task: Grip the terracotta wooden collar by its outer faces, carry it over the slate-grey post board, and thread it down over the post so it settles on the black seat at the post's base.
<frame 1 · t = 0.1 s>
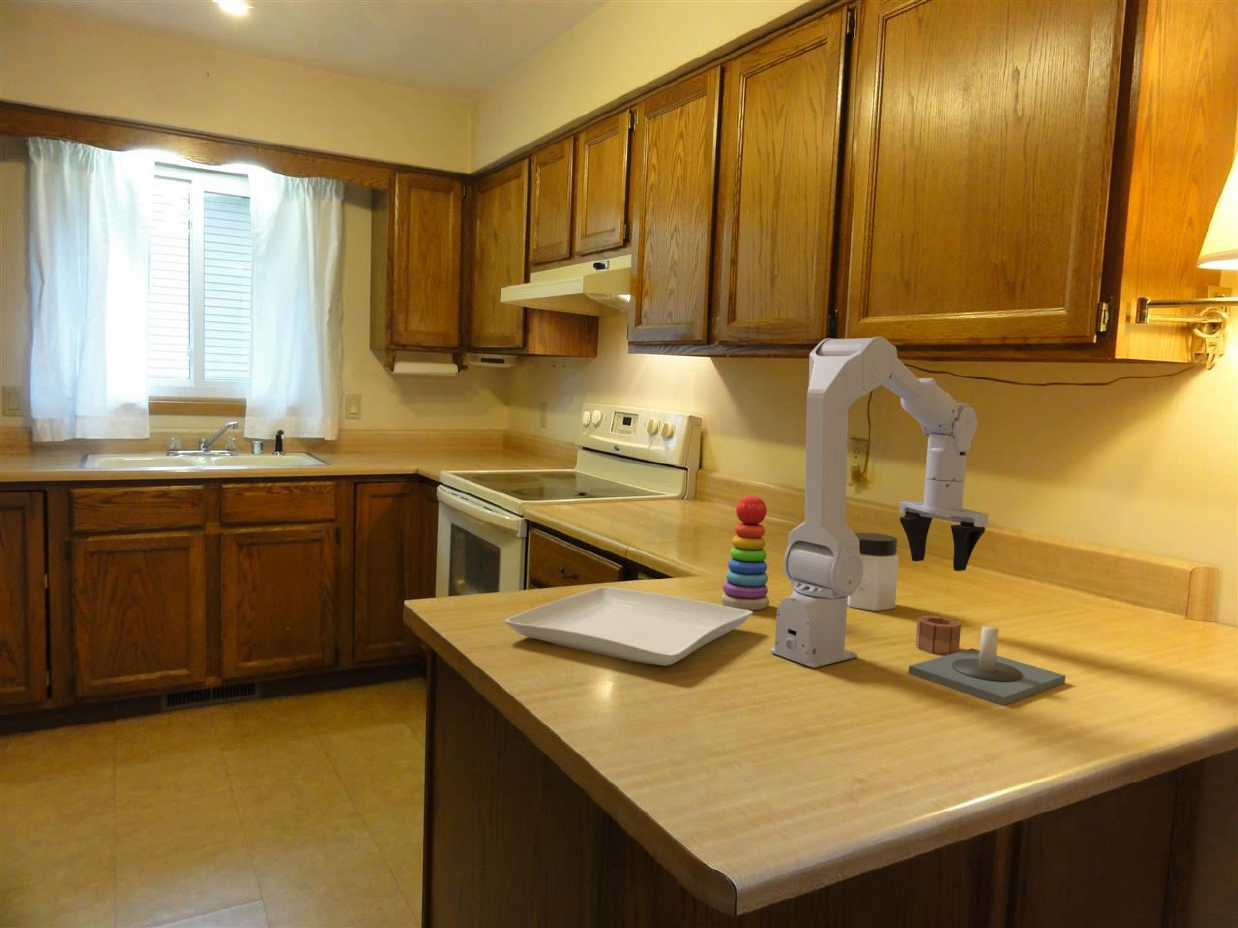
hand: (938, 565, 132), 10 cm above the countertop, tool pointing down, fingers open, 7 cm apart
collar: (936, 648, 122), on the countertop
square plate: (632, 639, 123), on the countertop
post board: (986, 677, 110), on the countertop
stacking toy: (744, 607, 142), on the countertop
jar: (868, 605, 146), on the countertop
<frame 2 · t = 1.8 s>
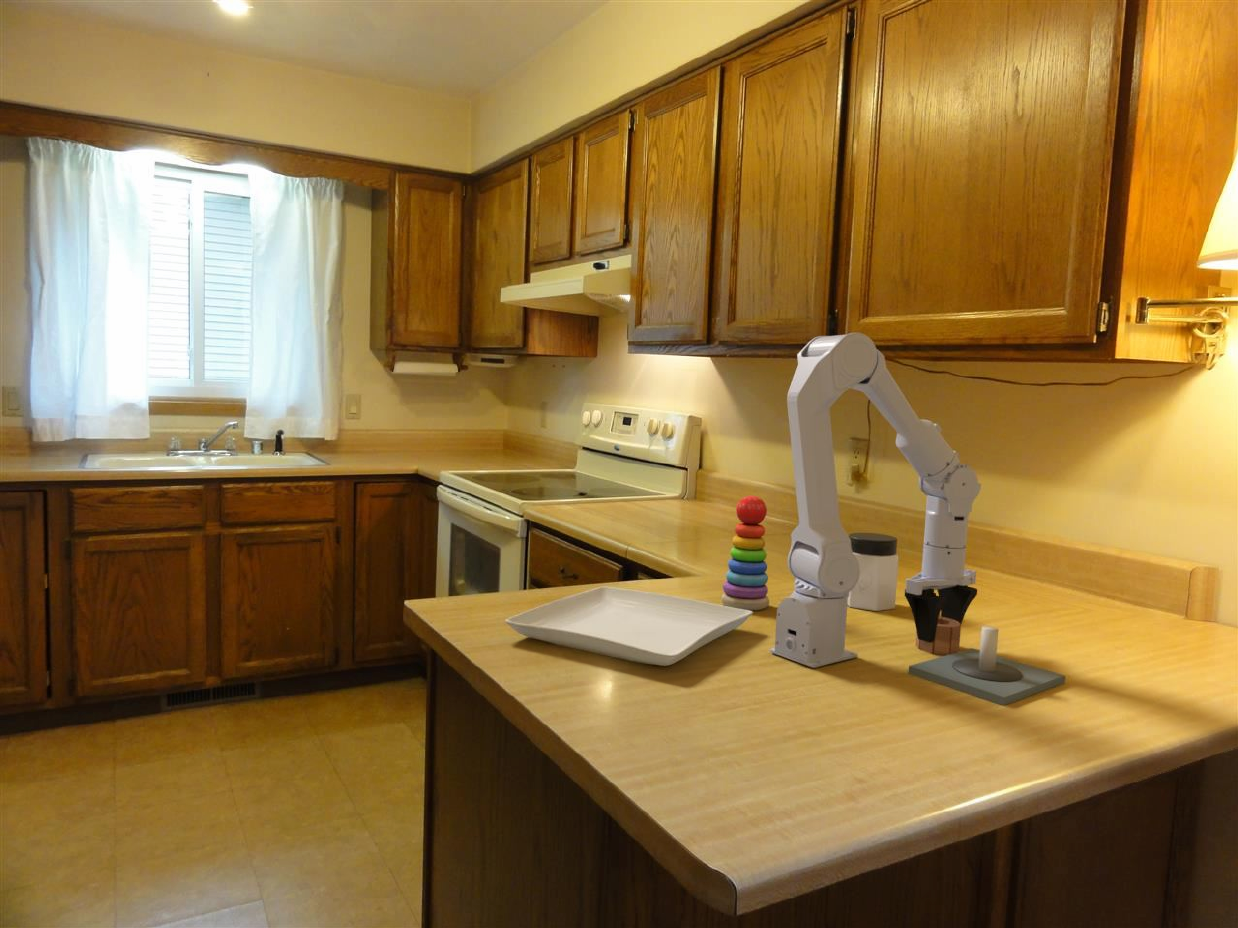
hand: (937, 637, 122), 2 cm above the countertop, tool pointing down, fingers closed on collar, 6 cm apart
collar: (936, 648, 122), on the countertop, touching gripper
everything else where it was.
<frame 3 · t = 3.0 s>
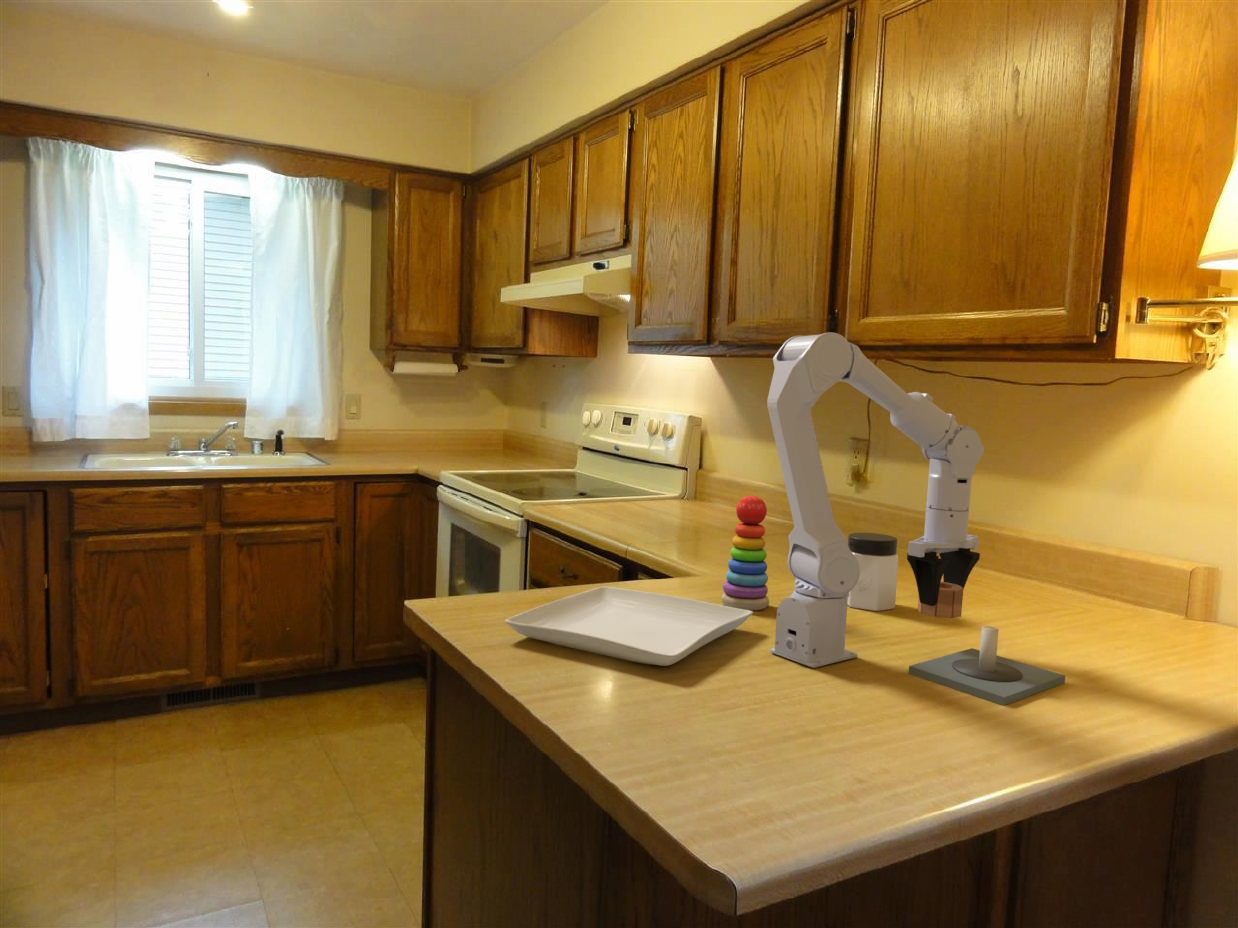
hand: (940, 601, 122), 7 cm above the countertop, tool pointing down, fingers closed on collar, 6 cm apart
collar: (939, 612, 122), point 5 cm above the countertop, touching gripper
everything else where it was.
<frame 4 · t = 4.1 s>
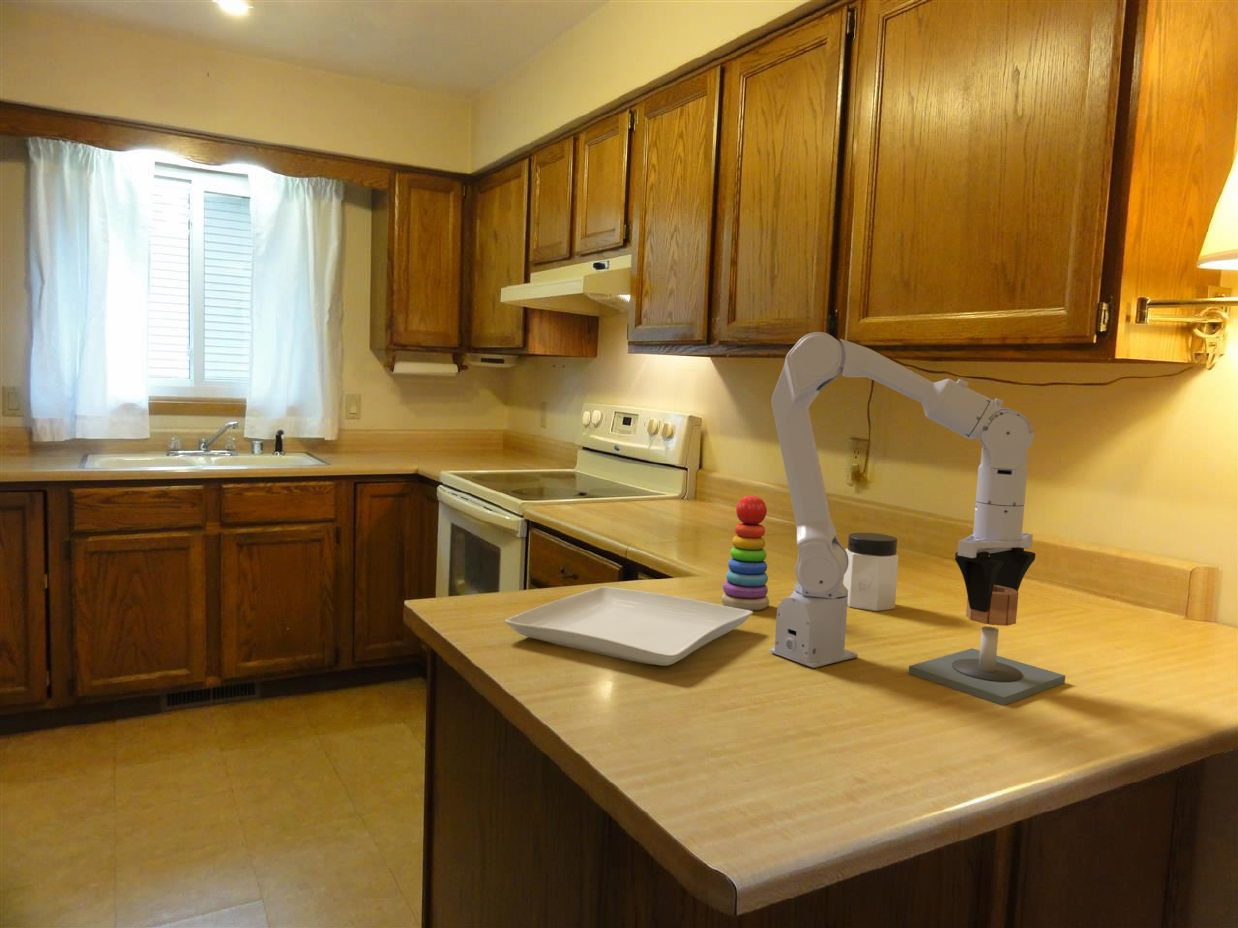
hand: (991, 607, 109), 9 cm above the countertop, tool pointing down, fingers closed on collar, 6 cm apart
collar: (990, 619, 109), point 8 cm above the countertop, touching gripper
everything else where it was.
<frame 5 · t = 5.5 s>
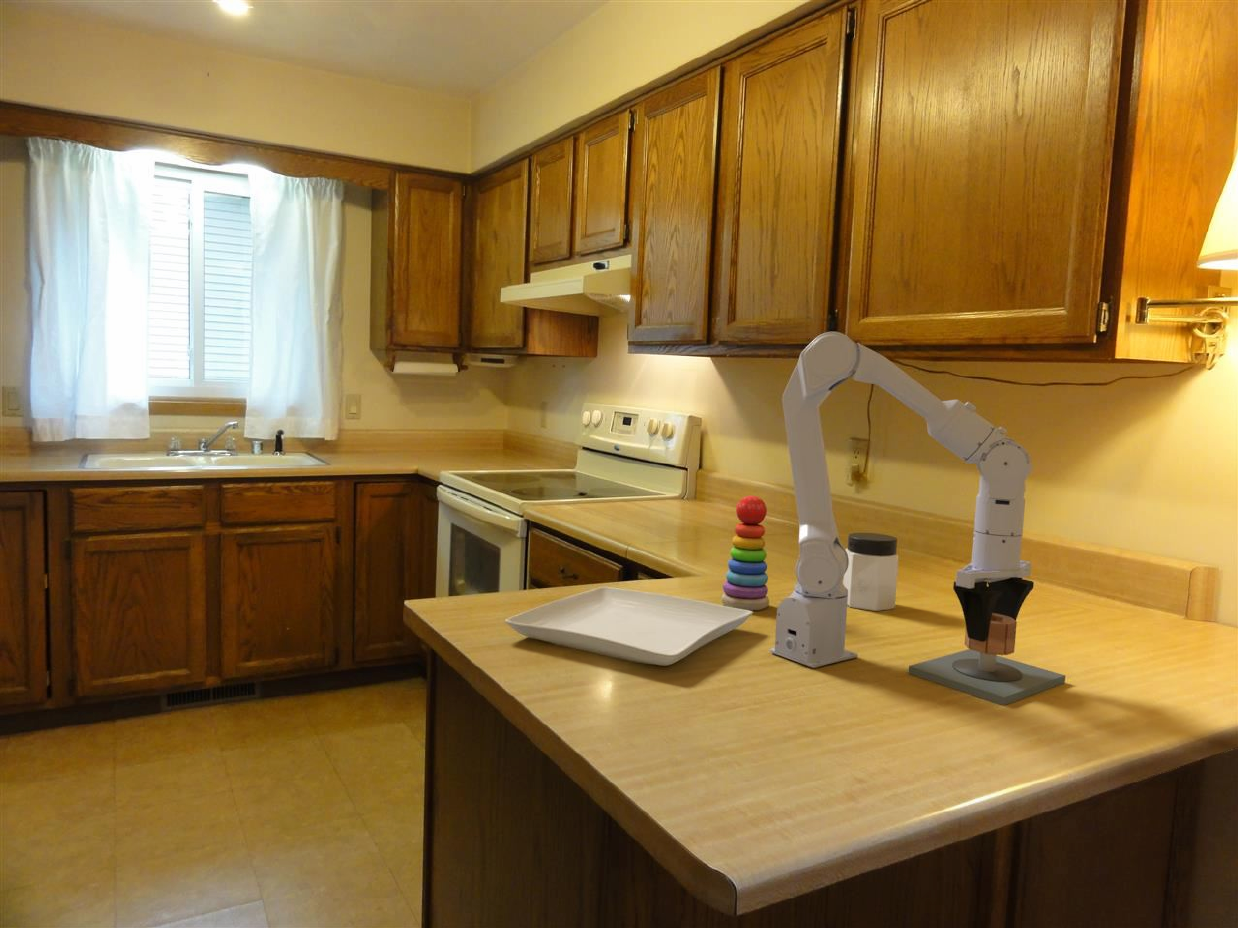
hand: (989, 635, 109), 6 cm above the countertop, tool pointing down, fingers closed on collar, 6 cm apart
collar: (989, 647, 110), point 4 cm above the countertop, touching gripper
everything else where it was.
when the fingers open (4 cm above the countertop, at t = 6.5 s): collar drops 1 cm, resting on post board.
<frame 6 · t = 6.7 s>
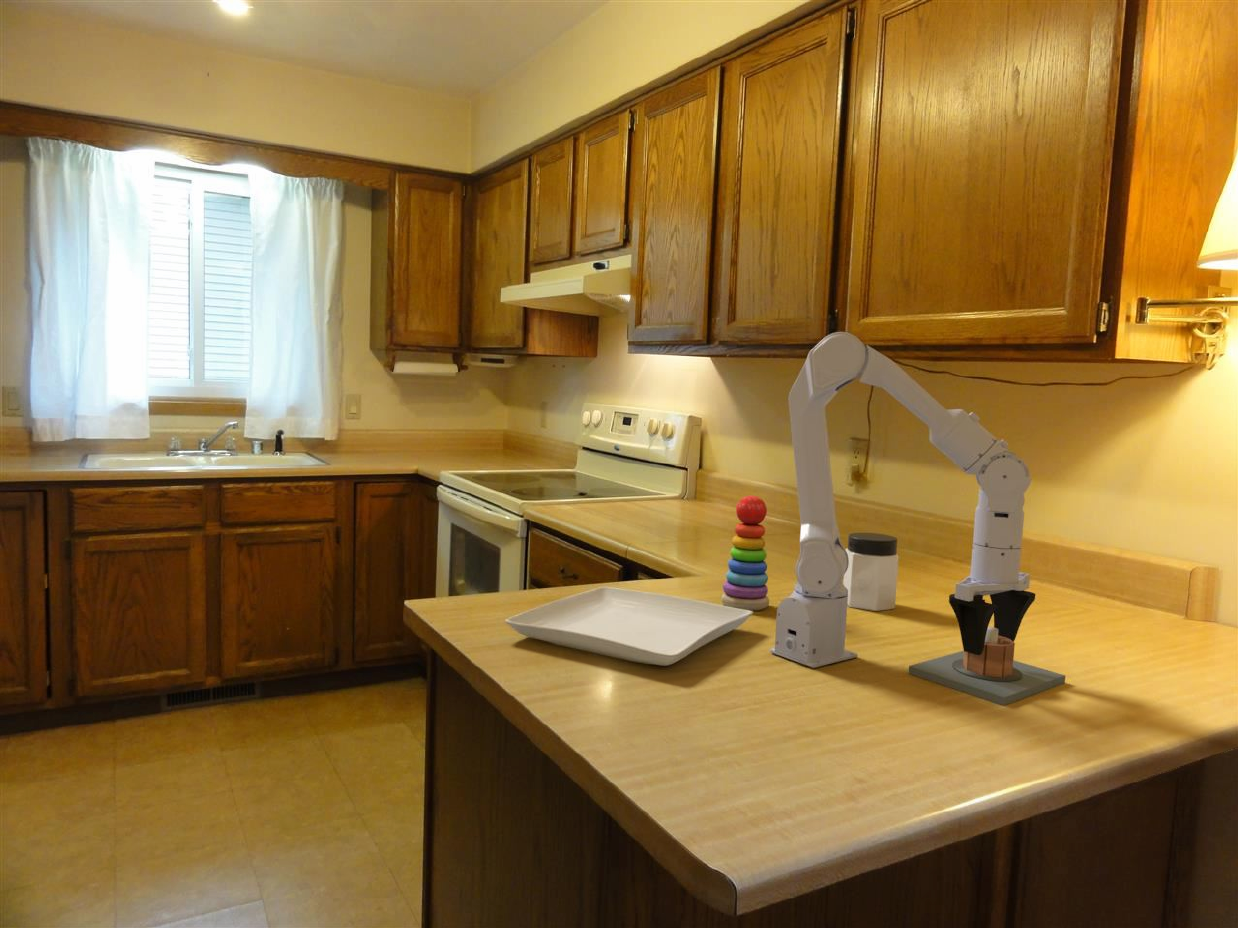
hand: (988, 648, 110), 4 cm above the countertop, tool pointing down, fingers open, 7 cm apart
collar: (987, 669, 110), point 1 cm above the countertop, touching post board
everything else where it was.
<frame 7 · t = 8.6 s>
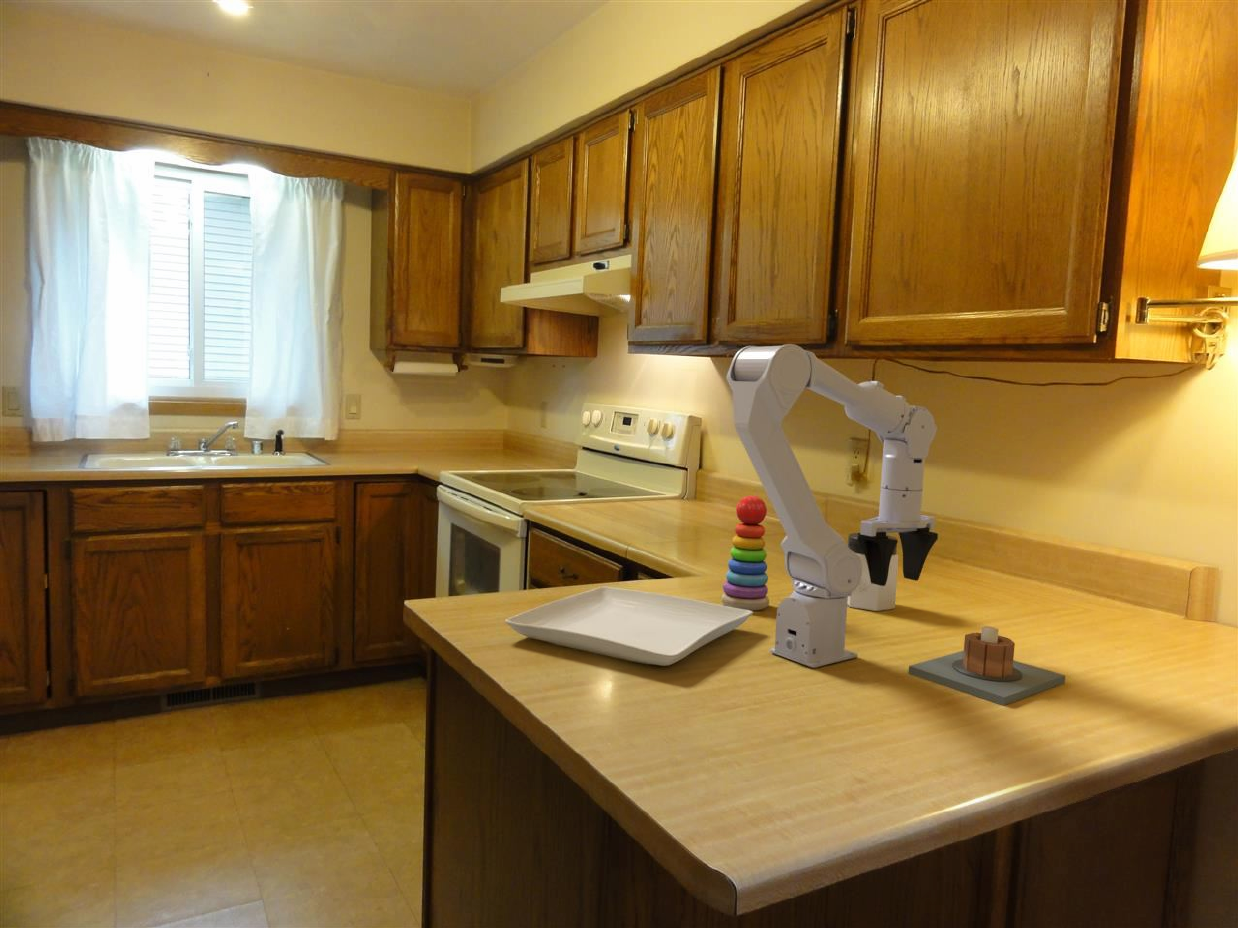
hand: (894, 581, 122), 9 cm above the countertop, tool pointing down, fingers open, 7 cm apart
nothing on the countertop moved.
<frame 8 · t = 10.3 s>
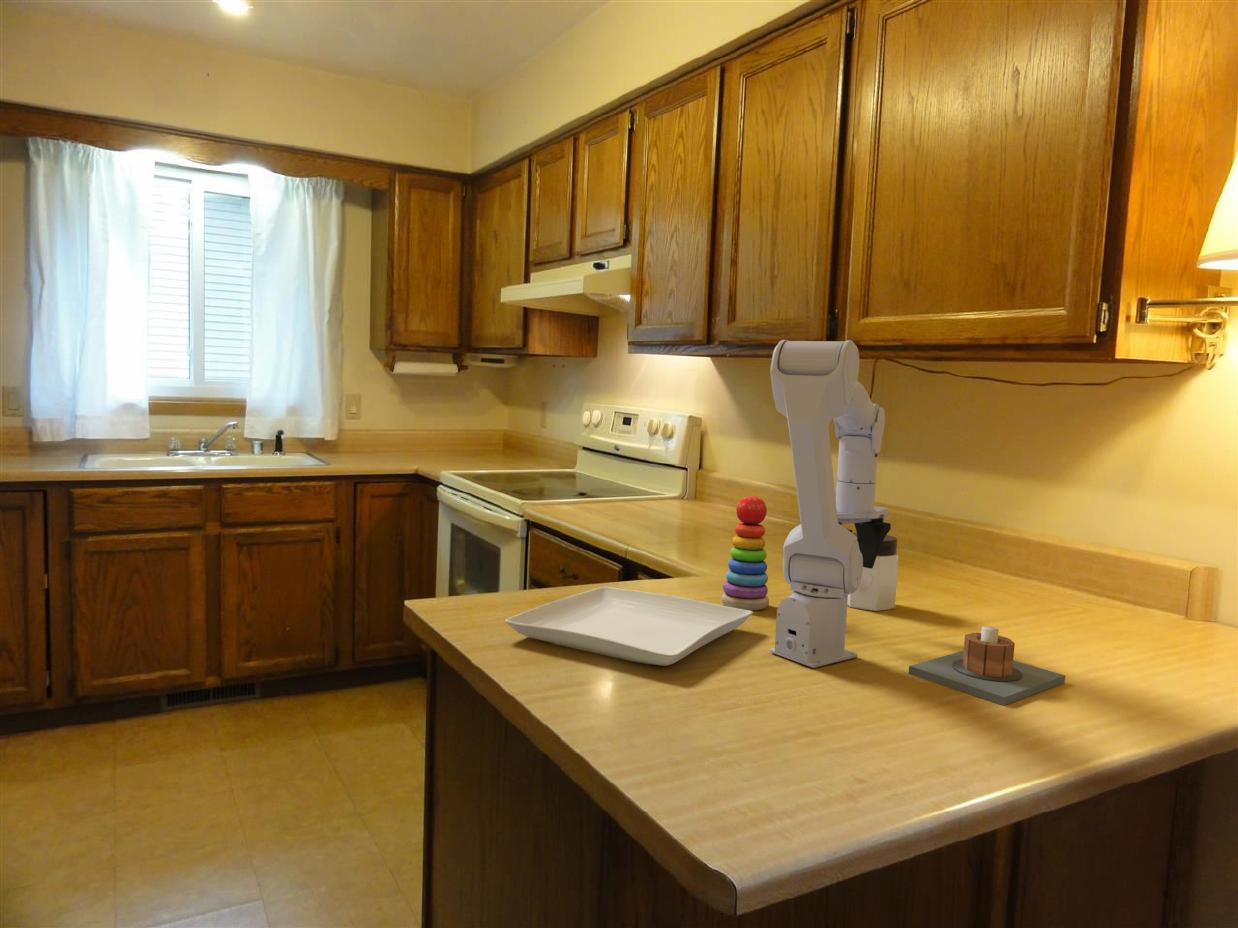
hand: (850, 569, 129), 9 cm above the countertop, tool pointing down, fingers open, 7 cm apart
nothing on the countertop moved.
at the end: collar 0.0 cm from the post board (horizontally); collar point 1.2 cm above the countertop; the gripper is holding nothing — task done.
